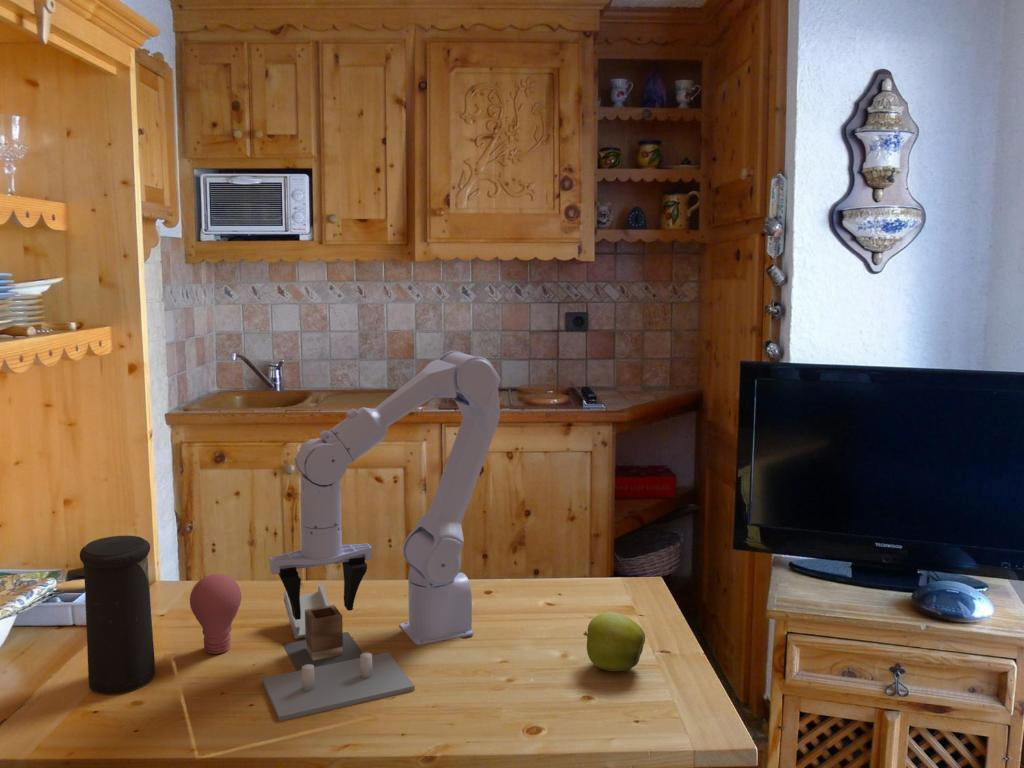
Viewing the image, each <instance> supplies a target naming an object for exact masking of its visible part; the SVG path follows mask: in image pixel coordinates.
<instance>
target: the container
mask: <svg viewBox="0 0 1024 768" xmlns="http://www.w3.org/2000/svg"><path fill="white" fill-rule="evenodd" d="M150 550H151V544H150V542H149V541H148V540H146V539H145V538H143V537H141V536H137V535H115V536H114V535H113V536H106V537H102V538H99V539H95V540H92V541H90V542H88V543H87V544H86V545H84V546H83V547H82V549H80V551H79V560H80V561H81V563H82V564H83V575H84V576H83V578H84V596H85V597H84V598H85V601H84V602H85V621H86V622H85V623H86V646H87V647H86V649H87V675H88V676H87V677H88V687H89V689H90V690H91V691H92V692H94V693H97V694H99V695H120V694H124V693H129V692H131V691H134V690H137V689H139V688H142V687H144V686H145V685H147V684H149V682H151V681H152V680H153V678H154V677H155V675H156V664H155V663H156V659H155V646H154V634H153V633H154V631H153V619H152V607H151V605H152V604H151V593H150V592H151V591H150V577H149V562H148V561H149V560H148V556H149V553H150V552H151V551H150Z"/></svg>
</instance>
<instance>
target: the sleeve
mask: <svg viewBox="0 0 1024 768" xmlns="http://www.w3.org/2000/svg"><path fill="white" fill-rule="evenodd" d="M343 631H344V630H343V615H342V613H341V612H340V611H339V609H338V607H336V605H335V604H330V606H324V607H318V608H312V609H307V610H305V637H304V638H305V640H306V649H307V651H308V653H309V654H310V656H311V658H312V660H313V661H314V660H319V659H324V658H329V657H334V656H339V655H343V633H344V632H343Z"/></svg>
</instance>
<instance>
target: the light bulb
mask: <svg viewBox="0 0 1024 768" xmlns="http://www.w3.org/2000/svg"><path fill="white" fill-rule="evenodd" d="M241 604H242V591H241V588H240V586H239V584H238V582H237V581H236V580H235V579H234V578H232V577H231V576H229V575H226V574H224V573H212V574H209V575H205V576H204V577H202V578H201V579H199V580H198V582H196V583H195V585H194V586H193V588H192V590H191V593H190V597H189V607H190V610H191V612H192V614H193V615H194V617H195V619H196V620H197V622H198V623H199V624H200V626H201V627H202V635H203V636H204V637H203V647H204V652H206V653H208V654H214V655H215V654H222V653H225V652H227V651H229V650H230V649H231V641H232V638H231V634H230V633H231V632H232V630H233V629H232V623H233V621H234V619H235V618H236V615H237V613H238V611H239V608H240V606H241Z"/></svg>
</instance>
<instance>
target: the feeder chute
mask: <svg viewBox="0 0 1024 768" xmlns="http://www.w3.org/2000/svg"><path fill="white" fill-rule="evenodd" d="M317 587H318V588H317V592H310V593H304V594H300V609H301V619H298V620H295V618H294V616H293V614H292V608H291V603H290V600H289V597H288V594H287V591H286V589H284V591H283V592H284V594H283V603H284V606H285V609H286V613H287V617H288V621H289V623H290V626H291V630H292V634H293V638H294V639H301V638H306V637H305V610H307V609H312V608H318V607H324V606H330V605H331V604H330V601H329V599H328V596H327V593H326V590H325V587H324V584H323V583H318V586H317Z"/></svg>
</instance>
